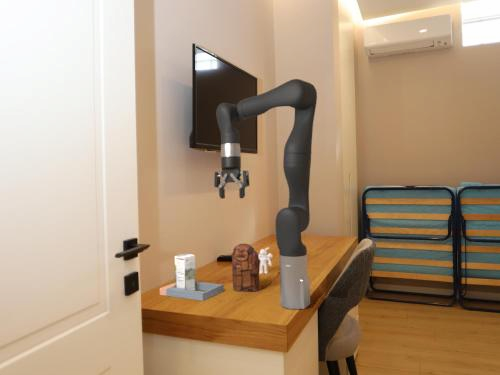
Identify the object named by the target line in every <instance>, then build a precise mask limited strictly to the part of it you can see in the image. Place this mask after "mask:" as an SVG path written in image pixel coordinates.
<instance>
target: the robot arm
mask: <svg viewBox="0 0 500 375" xmlns="http://www.w3.org/2000/svg"><path fill="white" fill-rule="evenodd" d="M317 101H318V93H317V89H316V87H315V85H313V84H312V83H311V82H308V81H305V80H303V79H298V78H292V79H290V80H288V81H286V82H284V83H282V84H280V85H278V86H276V87H274V88H273V89H270V90H268V91H265V92H263V93H261V94H257V95H254V96H250V97H246V98H243V99H241V100H239V101H238V102H237V104H233V103H228V102H221V103H220V104H219V105H218V106H217V108H216V113H215V116H216V121H217V125H218V128H219V132H220V142H221V144H220V145H221V147H220V164H221V165H220V166H221V171H215V172H214V179H213V180H214V182H213V183H214V184H213V185H214V188H217V189H218V196H219V199H225V198H226V195H225V194H226V190H225V187H226V185H227V184H229V183H235V184H236V185H237V186H238V187H239V189H238V191H239V192H238V193H239V195H238V196H239V199H244V198H245V196H246V189H245V188H247V187H250V176H249V175H250V174H249V170H241V168H242V164H241V163H242V154H241V153H242V152H241V145H240V131H239V129H238V128H236V127H234V126H233V124H237V123H240V122H241V123H242V122H243V121H245V120H247V119H249V118H255V117H257V116H261V115H263V114H265V113H267V112H268V111H269V110H271V109H275V108H278V107H280V108H281V107H290V108H293V109H294V121H293V125H292V126H293V127H292V129H291V131H290V133H289V136H288V138H287V140H286V142H285V145H284V149H283V162H282V163H283V164H282V165H283V172H284V177H285V179H286V184H287V187H288V205H287V207H283V208H282V209H279V211H278V212H277V213H276V217H275V236H276V237H275V238H276V246H277V248H278V251H279V252H278V254H279V281H280V283H279V285H280V289H279V290H280V307H281V308H285V309H289V310H299V309H301V310H305V309H306V308H307V307H308V306H310V305H311V288H310V287H311V286H310V285H311V283H310V281H311V280H310V276H309V275H308V252H307V251H308V250H307V245H305V244H304V243H303V240H302V233H303V232H305V231H306V230H307V229H308V226H310V225H309V224H310V220H311V219H310V217H311V213H310V182H311V181H310V179H311V165H312V164H311V163H312V145H313V144H312V142H313V130H314V129H313V128H314V120H315V114H316V113H315V112H316V108H317ZM241 176H242V178H241ZM221 177H222V179H221Z"/></svg>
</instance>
